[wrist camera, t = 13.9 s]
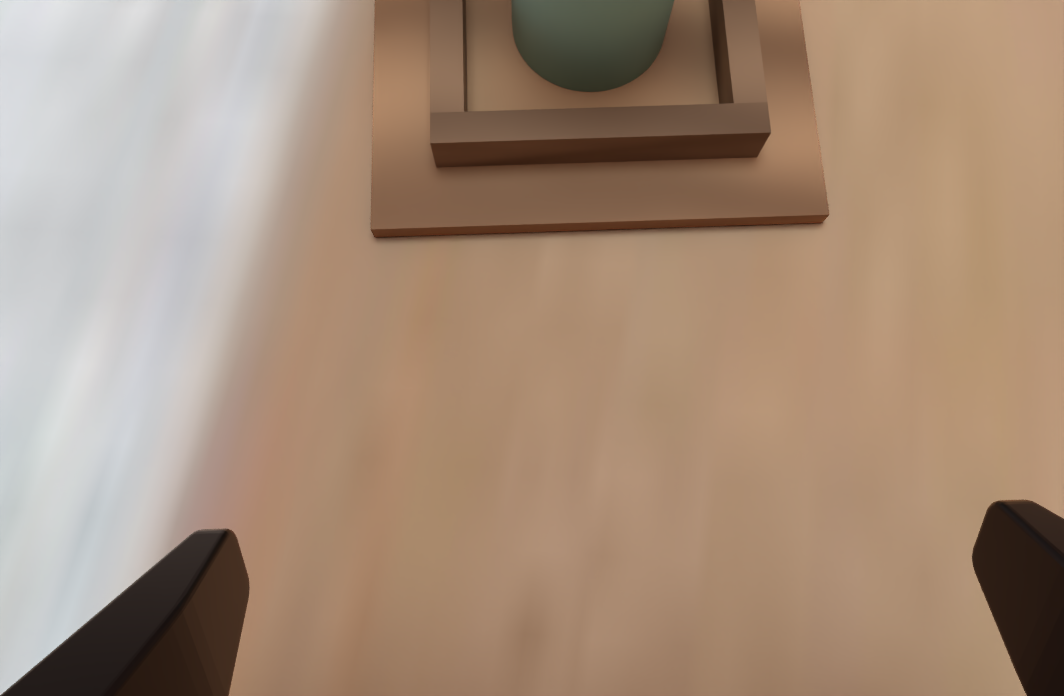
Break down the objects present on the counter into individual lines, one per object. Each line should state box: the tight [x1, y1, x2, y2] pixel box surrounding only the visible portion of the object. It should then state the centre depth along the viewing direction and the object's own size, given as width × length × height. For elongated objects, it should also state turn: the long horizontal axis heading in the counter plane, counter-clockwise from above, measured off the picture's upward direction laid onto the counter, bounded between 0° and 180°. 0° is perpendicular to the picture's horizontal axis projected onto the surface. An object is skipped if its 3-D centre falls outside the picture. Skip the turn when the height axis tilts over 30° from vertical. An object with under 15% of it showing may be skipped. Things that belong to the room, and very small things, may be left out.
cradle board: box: [371, 0, 829, 237], centre depth 25 cm, size 14×14×2 cm
